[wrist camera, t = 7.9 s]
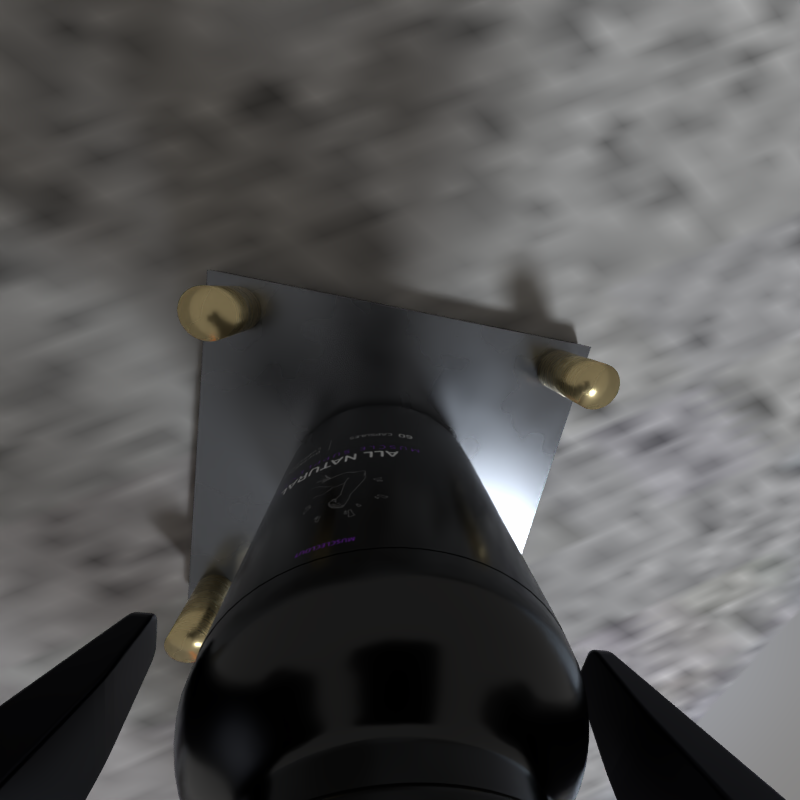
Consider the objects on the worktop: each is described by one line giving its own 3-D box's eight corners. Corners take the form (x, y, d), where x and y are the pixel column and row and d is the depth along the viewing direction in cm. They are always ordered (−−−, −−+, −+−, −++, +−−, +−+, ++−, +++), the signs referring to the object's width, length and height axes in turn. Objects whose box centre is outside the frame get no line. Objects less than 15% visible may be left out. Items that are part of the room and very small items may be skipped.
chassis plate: (489, 618, 18) (516, 690, 14) (196, 591, 16) (153, 667, 13) (578, 344, 14) (639, 359, 11) (217, 270, 12) (166, 265, 9)
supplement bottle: (353, 361, 13) (221, 986, 1) (504, 462, 14) (1050, 1157, 3) (251, 510, 14) (-274, 1495, 3) (399, 588, 16) (485, 1422, 4)
